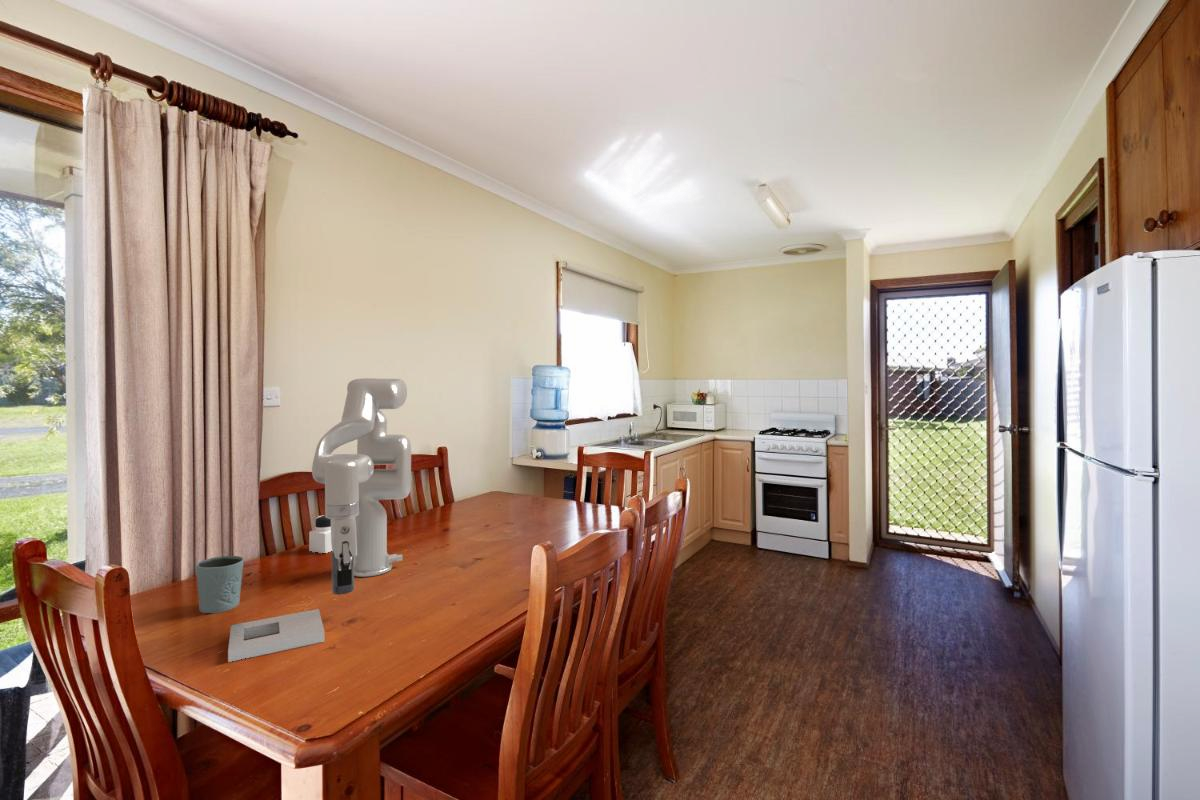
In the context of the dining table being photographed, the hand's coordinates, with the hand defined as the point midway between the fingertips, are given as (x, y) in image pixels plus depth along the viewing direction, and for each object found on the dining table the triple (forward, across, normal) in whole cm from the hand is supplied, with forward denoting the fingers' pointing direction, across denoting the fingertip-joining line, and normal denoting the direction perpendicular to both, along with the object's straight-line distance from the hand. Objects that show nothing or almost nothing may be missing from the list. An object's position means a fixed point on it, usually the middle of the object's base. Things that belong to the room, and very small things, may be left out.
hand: (343, 580), depth 136 cm
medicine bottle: (+12, +63, -2) cm, 64 cm away
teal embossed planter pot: (+10, +23, +26) cm, 36 cm away
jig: (+9, -5, +14) cm, 18 cm away
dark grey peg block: (+3, 0, 0) cm, 3 cm away
